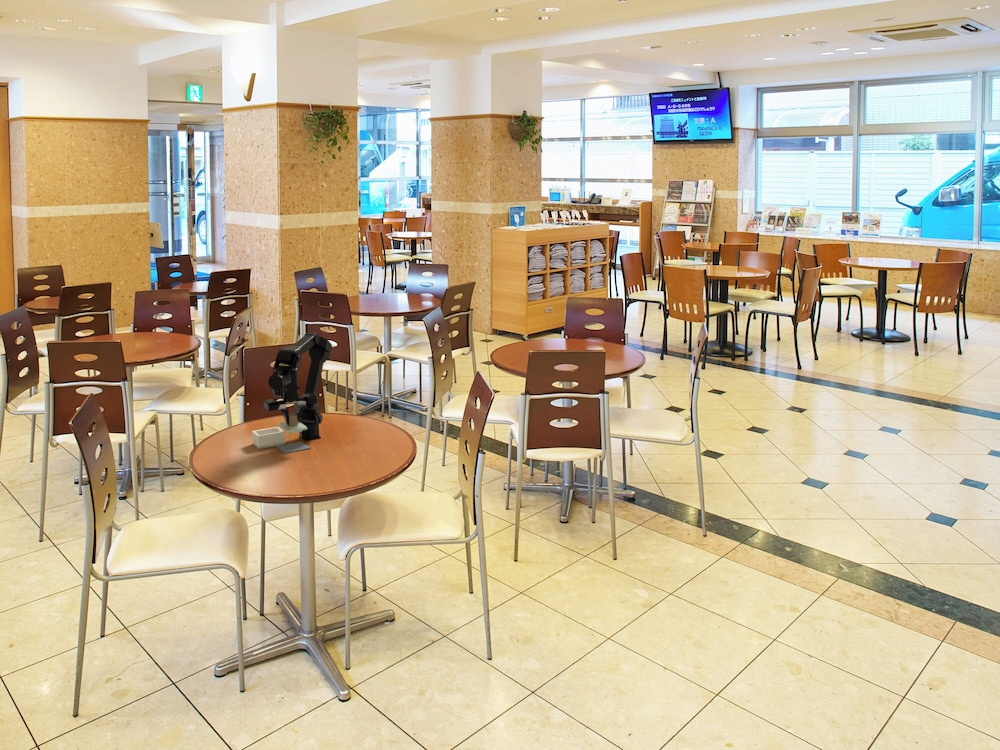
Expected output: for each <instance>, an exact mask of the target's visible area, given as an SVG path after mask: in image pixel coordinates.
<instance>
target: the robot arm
mask: <svg viewBox="0 0 1000 750" xmlns="http://www.w3.org/2000/svg"><path fill="white" fill-rule="evenodd" d="M332 350H333V345H332V343H331V342H330V340H329V339H327V338H324V337H322V336H320V334H318V333H314V332H307V333H304V335H303V336H302V337H301V338H300V339H299V340H297V341H296V342H294V344H292V345H291V346H284V347H282V348H280V349H279V350H278V352H277V354H276V357H275V360H274V363H273V367H272V369H273V371H272V375H270V376H269V378H268V380H267V381H268V386H269V388H271V389H272V390H271V391H272V396H273V397H277V399H280V400H277V399H275V398H270V399H265V400H264V401H263V408H265V410H267V411H269V412H272V411H280V412H281V414H282V416H283V418H284V422H286V424H287V425H289V414H290V413H289V408H287V406H289V405H294V412H293V413H295V414H296V415H297V421H298V422H300V423H302V424H303V425H305V426H306V427H307V430H302V432H298V433H299V436H298V437H299V438H300V439H302V440H303V441H305V442H308V441H312V440H317V439H322V437H321V436H320V425H321V424H322V422H323V417H324V416H323V415H322V413H321V412H320V411H319V407H320V406H319V398H318V396H317V395H318V392H319V387H320V382H321V377H322V372H323V369H324V368H323V367H324V364H325V363H326V361H328V359H329V358H330V355H331V352H332ZM306 352H308V356H309V359H310V363H309V364H310V365H309V368H308V373H307V377H306V382H305V387H304V392H303V394H302V395H301V397H300V392H299V390H300V389H301V388H300V386H299V378H298V375H299V373H298V370H299V369H300V366H299V363H300V362H301V361H302V357H303V355H304V354H305V353H306Z"/></svg>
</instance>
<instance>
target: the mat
mask: <svg viewBox="0 0 1000 750" xmlns="http://www.w3.org/2000/svg"><path fill="white" fill-rule="evenodd" d="M275 448H276V449H278V450H279V451H280V452H281V453H283V454H284V455H285V454H291V453H295V452H300V451H306V450H311V447H310V446H308V444H306V443H305V442H303V441H297V442H291V443H285V444H284V445H279V446H275Z"/></svg>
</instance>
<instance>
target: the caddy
mask: <svg viewBox="0 0 1000 750" xmlns="http://www.w3.org/2000/svg"><path fill="white" fill-rule="evenodd" d="M285 432H286V431H285V430H283V429H282V428H281V427H279V426H274V427H268V428H263V429H256V430H251V434H252V435H251V436H252V445H254V446H255V447H256V448H257V449H258V450H260V449H267V448H272V447H276V446H279V445H285V444H286V435H285Z"/></svg>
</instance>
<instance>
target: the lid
mask: <svg viewBox="0 0 1000 750" xmlns="http://www.w3.org/2000/svg"><path fill="white" fill-rule="evenodd" d="M277 427H279V428H280V429H282V430H283V431H284V432H286V433H289V434H296V433H299V432H302V430H307V427H306V426H305V425H303V424H302V423H300V422H298V421H297V415H296V414H295V413H294V412H292V413H289V425H287V424H286V421H282V422H278V423H277Z"/></svg>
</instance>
